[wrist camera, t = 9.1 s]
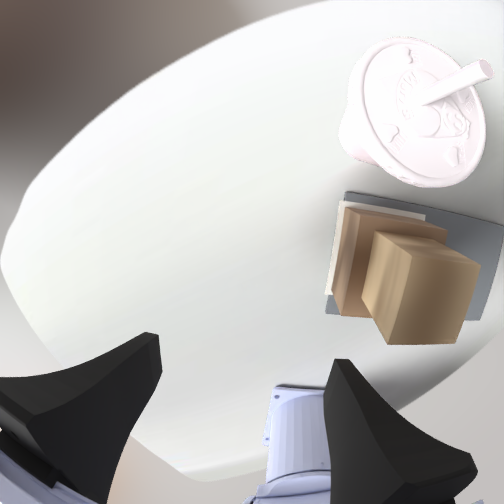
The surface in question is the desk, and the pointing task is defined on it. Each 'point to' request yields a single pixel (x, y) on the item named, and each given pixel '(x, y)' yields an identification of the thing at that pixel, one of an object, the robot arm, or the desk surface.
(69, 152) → the desk surface
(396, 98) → the smoothie
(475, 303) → the slate mat
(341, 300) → the walnut block
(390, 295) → the oak block
